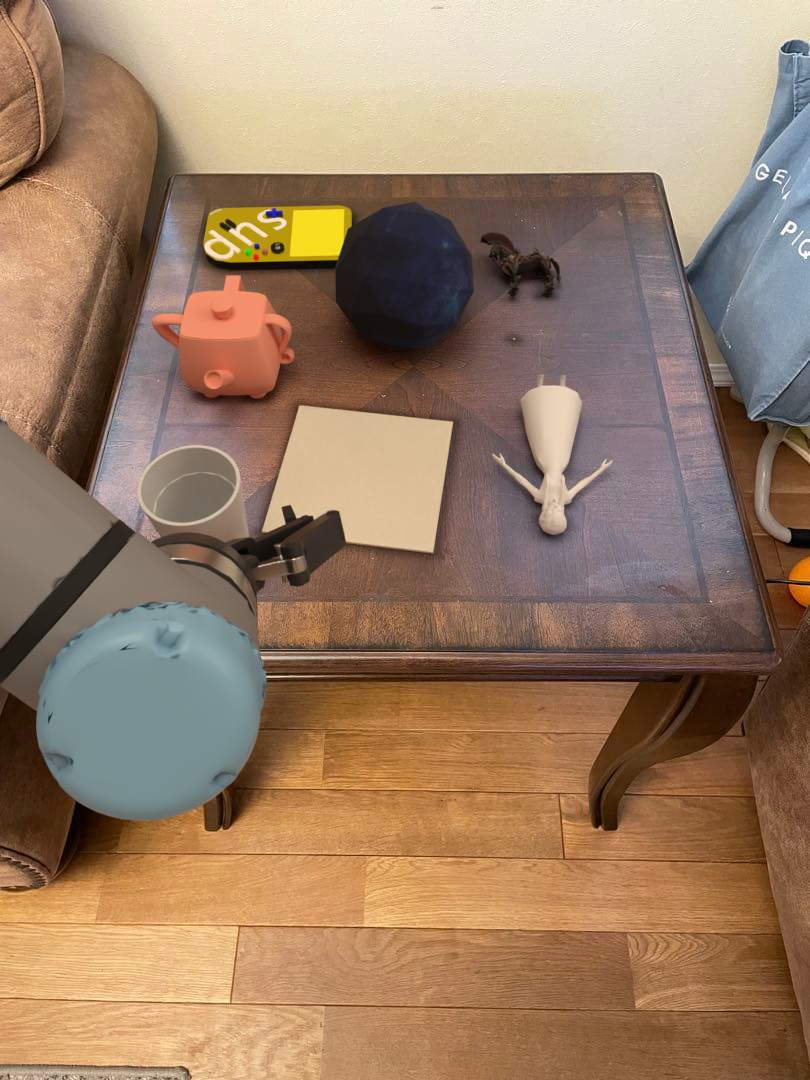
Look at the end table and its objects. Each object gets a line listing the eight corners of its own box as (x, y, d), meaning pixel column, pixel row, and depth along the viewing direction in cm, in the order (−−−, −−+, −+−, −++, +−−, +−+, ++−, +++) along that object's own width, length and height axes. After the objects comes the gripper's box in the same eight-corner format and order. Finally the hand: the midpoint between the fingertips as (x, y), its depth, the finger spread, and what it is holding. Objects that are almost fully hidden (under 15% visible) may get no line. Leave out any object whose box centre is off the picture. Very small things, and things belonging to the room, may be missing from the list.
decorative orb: (473, 233, 90) (394, 143, 79) (518, 320, 82) (437, 233, 71) (378, 312, 96) (292, 238, 85) (411, 400, 88) (320, 331, 77)
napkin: (262, 533, 74) (261, 531, 74) (299, 407, 83) (299, 405, 83) (433, 553, 73) (433, 552, 73) (452, 423, 82) (453, 421, 81)
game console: (351, 211, 102) (351, 200, 100) (353, 267, 96) (352, 256, 94) (209, 216, 101) (207, 206, 100) (202, 273, 95) (199, 262, 94)
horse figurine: (570, 349, 91) (545, 246, 97) (582, 327, 88) (555, 222, 93) (495, 351, 90) (474, 246, 95) (505, 328, 86) (482, 221, 92)
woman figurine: (613, 369, 79) (624, 524, 70) (603, 398, 83) (613, 549, 74) (495, 363, 80) (492, 516, 71) (491, 392, 84) (488, 541, 75)
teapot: (224, 435, 81) (204, 365, 73) (163, 371, 86) (138, 299, 78) (316, 382, 85) (306, 310, 77) (253, 323, 90) (237, 250, 82)
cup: (276, 539, 74) (255, 456, 64) (243, 613, 69) (216, 535, 60) (196, 520, 75) (163, 436, 65) (159, 591, 71) (118, 512, 61)
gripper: (-45, 746, 40) (52, 629, 61) (428, 620, 44) (369, 550, 64) (-95, 606, 39) (22, 534, 59) (400, 488, 42) (349, 459, 63)
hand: (203, 542), depth 62 cm, fingers open, 13 cm apart
